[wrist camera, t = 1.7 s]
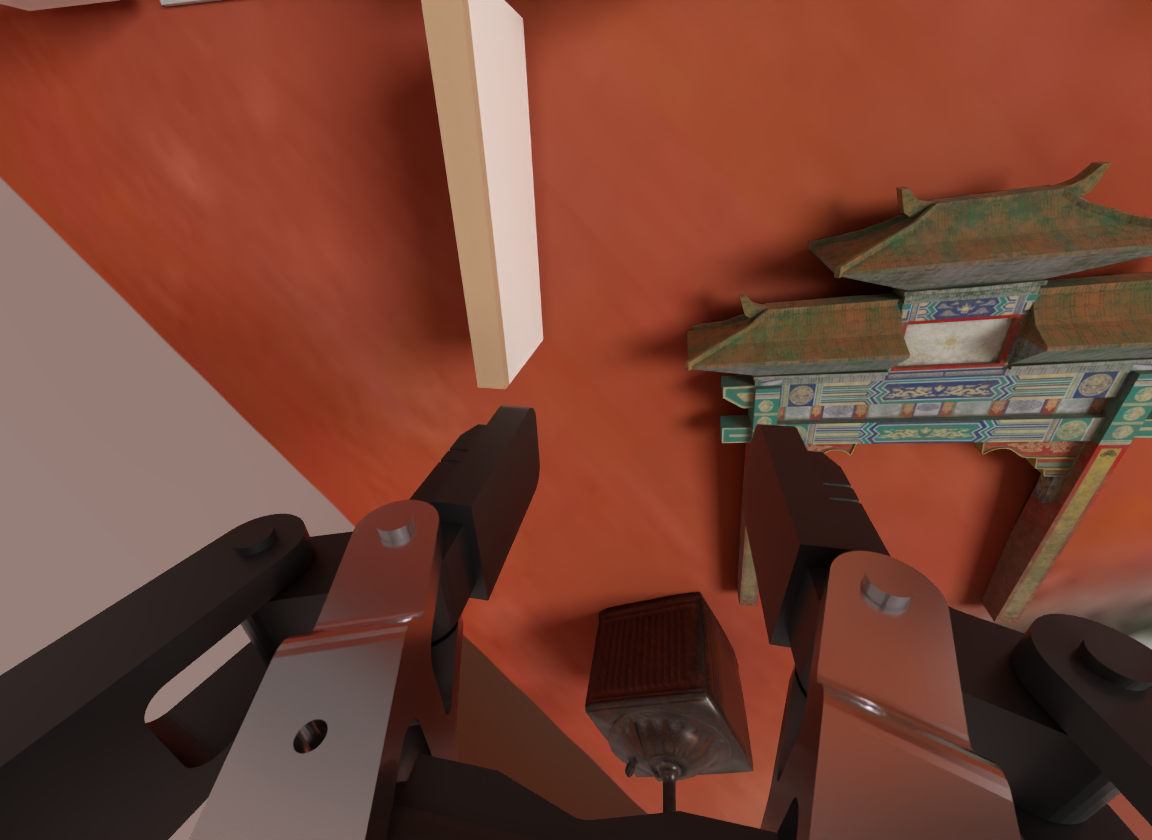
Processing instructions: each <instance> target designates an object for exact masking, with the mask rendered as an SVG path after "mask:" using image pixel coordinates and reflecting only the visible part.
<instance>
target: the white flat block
mask: <svg viewBox="0 0 1152 840" xmlns="http://www.w3.org/2000/svg"><path fill="white" fill-rule="evenodd" d="M421 3H422V10H423V16H424V23H425V30H426V37H427V44H428V51H429V57H430V64H431V71H432V78H433V85H434V92H435V98H436V105H437V112H438V119H439V126H440V133H441V139H442V146H443V153H444V160H445V167H446V173H447V180H448V187H449V194H450V201H451V208H452V214H453V221H454V228H455V235H456V242H457V249H458V255H459V262H460V269H461V276H462V283H463V290H464V296H465V303H466V310H467V317H468V324H469V331H470V337H471V344H472V351H473V358H474V365H475V372H476V378H477V385H478V387H479V388H495V389H506V388H507V387H508V385H509V384H510V383H511V381H512V380H513V379H514V377H515V376H516V375H517V373H518V372H519V371H520V370H521V368H522V367H523V366H524V364H525V363H526V362H527V360H528V359H529V358H530V356H531V355H532V354H533V352H534V351H535V350H536V348H537V347H538V346H539V344H540V343H541V342H542V341H543V329H542V313H541V297H540V281H539V265H538V249H537V234H536V218H535V202H534V186H533V170H532V154H531V138H530V122H529V107H528V91H527V75H526V59H525V43H524V27H523V18H522V17H521V16H520V15H519V14H518V13H517V12H516V11H515V10H514V9H513V8H512V7H511V6H510V5H509V4H508V3H507V2H506V1H505V0H421Z"/></svg>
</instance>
